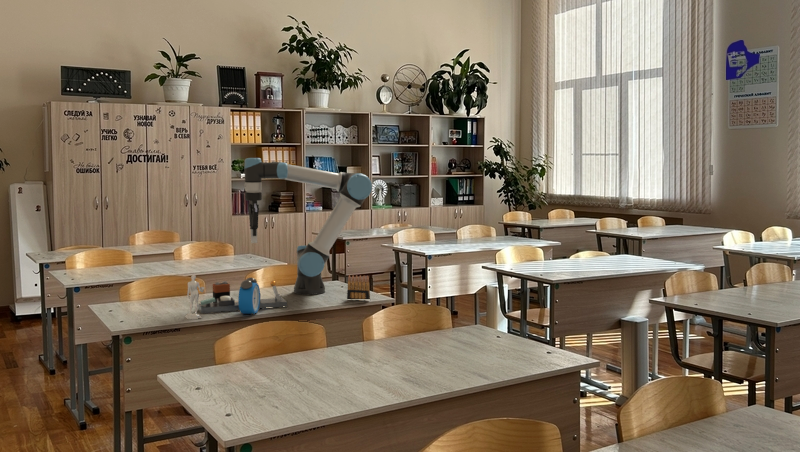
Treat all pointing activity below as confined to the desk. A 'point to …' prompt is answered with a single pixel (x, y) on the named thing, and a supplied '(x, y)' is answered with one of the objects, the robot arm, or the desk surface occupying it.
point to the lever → (274, 288)
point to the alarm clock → (249, 296)
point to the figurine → (194, 293)
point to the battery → (221, 290)
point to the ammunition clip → (358, 288)
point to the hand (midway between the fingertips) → (254, 242)
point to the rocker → (207, 301)
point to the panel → (234, 305)
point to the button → (225, 298)
